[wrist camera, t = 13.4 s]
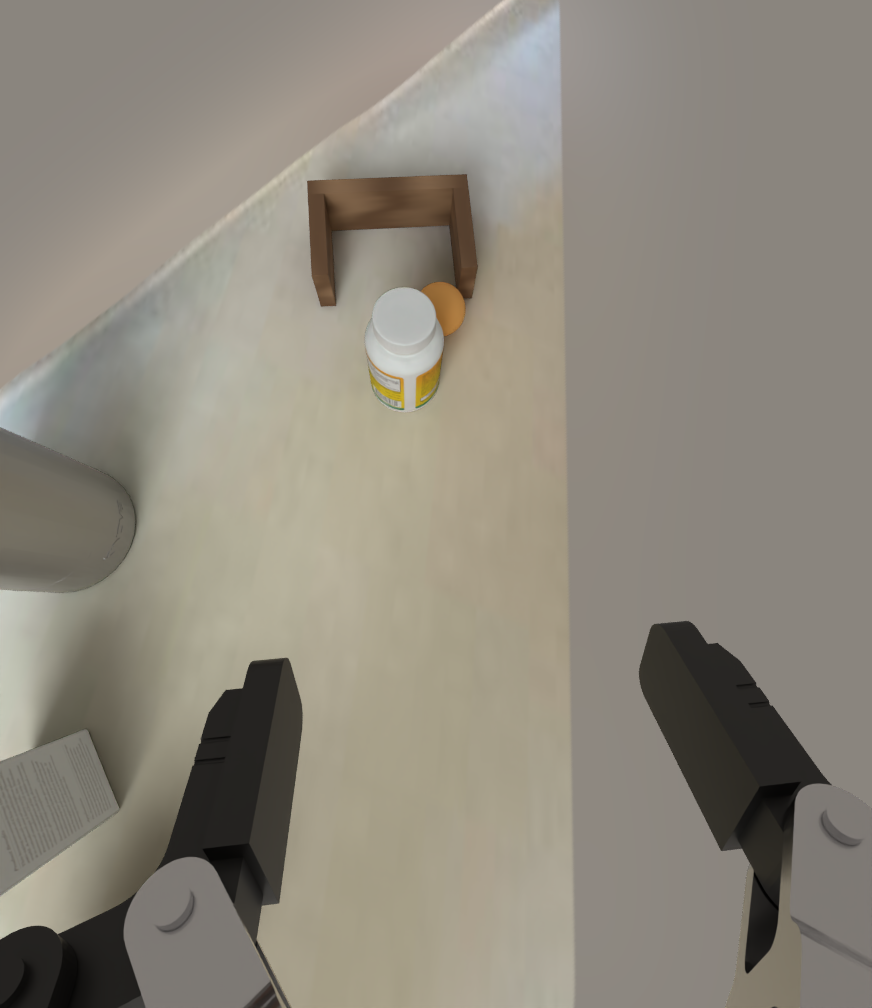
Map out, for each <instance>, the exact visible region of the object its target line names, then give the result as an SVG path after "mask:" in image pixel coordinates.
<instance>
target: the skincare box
mask: <svg viewBox="0 0 872 1008" xmlns="http://www.w3.org/2000/svg"><path fill="white" fill-rule="evenodd" d="M118 811H119V806H118V804H117V802H116V799H115V797H114V794H113V792H112V789H111V787H110V785H109V782H108V780H107V777H106V775H105V772H104V770H103V767H102V765H101V762H100V760H99V757H98V755H97V752H96V750H95V747H94V745H93V742H92V740H91V737H90V735H89V732H88V730H87V729H84V730H81V731H78V732H76V733H73V734H71V735H68V736H66V737H63V738H60V739H58V740H55V741H53V742H50V743H48V744H45V745H42V746H39V747H37V748H34V749H32V750H29V751H26V752H24V753H21V754H19V755H16V756H13V757H11V758H8V759H6V760H3V761H1V762H0V896H2V895H3V894H4V893H6V892H7V891H9V890H10V889H11V888H13V887H14V886H15V885H17V884H18V883H20V882H21V881H22V880H24V879H25V878H26V877H28V876H29V875H31V874H32V873H33V872H35V871H36V870H38V869H39V868H40V867H42V866H43V865H45V864H46V863H48V862H49V861H50V860H52V859H53V858H55V857H56V856H57V855H59V854H60V853H62V852H63V851H64V850H66V849H67V848H69V847H70V846H72V845H73V844H74V843H76V842H77V841H79V840H80V839H81V838H83V837H84V836H86V835H87V834H88V833H90V832H91V831H93V830H94V829H95V828H97V827H98V826H100V825H101V824H102V823H104V822H105V821H107V820H108V819H110V818H111V817H112V816H114V815H115V814H116V813H117V812H118Z"/></svg>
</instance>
